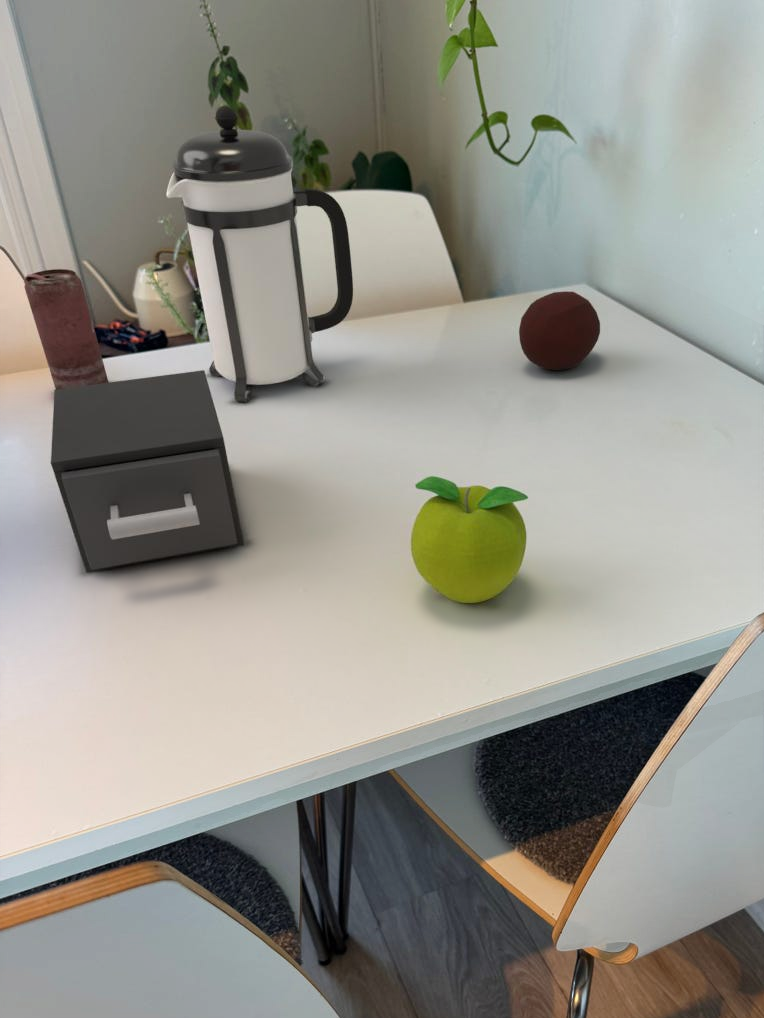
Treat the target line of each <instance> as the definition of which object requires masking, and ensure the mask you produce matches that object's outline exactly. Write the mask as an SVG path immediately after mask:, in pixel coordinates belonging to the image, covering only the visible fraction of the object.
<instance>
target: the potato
mask: <svg viewBox="0 0 764 1018" xmlns="http://www.w3.org/2000/svg"><path fill="white" fill-rule="evenodd" d="M518 334H519V335H518V337H519V344H520V348H521V350H522V352H523V354H524V356H525V357H526V358H527V359H528V361H529V362H530V363H532V364H534V365H536V366H538V367H539V368H542V369H545V370H550V371H562V370H568V369H570V368H574V367H575V366H577V365H579V364H580V363H581V362H582V361H584V359H586V358H587V357H588V356H589V355H590V353H592V350H593V349H594V348H595V346H596V345H597V343H598V341H599V337H600V334H601V322H600V318H599V316H598V312H597V310H596V309H595V308H594V306H593V305H592V303H591V302H590V301H589V299H587V298H585V297H584V296H582V295H580V294H579V293H577V292H575V291H566V290H565V291H553V292H552V293H548V294H546V295H544V296H542V297H540V298H537V299H536V300H534V301H532V302H531V303H530V304H529V306H528V307H527V309H526V310H525V312H524V313H523V315H522V317H521V318H520V324H519V328H518Z"/></svg>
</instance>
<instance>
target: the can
mask: <svg viewBox="0 0 764 1018" xmlns="http://www.w3.org/2000/svg"><path fill="white" fill-rule="evenodd" d="M23 284H24V291H25V294H26V297H27V301H28V303H29V307H30V310H31V313H32V316H33V320H34V323H35V327H36V329H37V333H38V337H39V340H40V343H41V346H42V349H43V352H44V356H45V359H46V363H47V365H48V369H49V372H50V376H51V379H52V382H53V385H54V390H55V389H63V388H71V387H78V386H86V385H94V384H101V383H109V382H110V381H109V379H108V374H107V371H106V368H105V363H104V360H103V357H102V353H101V349H100V345H99V341H98V338H97V334H96V331H95V327H94V323H93V319H92V316H91V311H90V308H89V304H88V300H87V296H86V293H85V289H84V286H83V285H84V284H83V282H82V279H81V278H80V277H79V276H78V274H77V272H76V271H74V270H73V269H72V270H71V269H65V268H64V269H63V268H57V269H47V270H46V269H45V270H41V271H37V272H34V273H31V274H29V273H28V274H27V275H25V277H24V279H23Z"/></svg>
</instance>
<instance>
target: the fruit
mask: <svg viewBox="0 0 764 1018" xmlns="http://www.w3.org/2000/svg"><path fill="white" fill-rule="evenodd" d="M414 486H415V488H416V489H418V490H423V491H428V492H431V493H433V494H435V496H433V497H430V498H429V499H427V501H425V503H424V504H423V505H422V506H421V508H420V509H419V511H418V513H417V515H416V517H415V519H414V523H413V526H412V531H411V537H410V553H411V556H412V560H413V563H414V565H415V567H416V570H417V572H418V573H419V574H420V576H421V577H422V578H423V580H425V581H426V583H427V584H429V585H430V586H431V587H432V588H433V589H434V590H435V591H438V592H439V593H440V594H441V595H443V596H444V597H446V598H448V599H449V600H451V601H453V602H457V603H462V604H475V603H481V602H485V601H487V600H491V599H492V598H494V597H496V596H498V595H499V594H500V593H502V592H503V591H504V590H505V589H506V588H508V586H510V584H511V583H512V582H513V581H514V579H516V576H517V575H518V573H519V571H520V568H521V566H522V565H523V564H522V563H523V561H524V557H525V553H526V547H527V528H526V523H525V521H524V518H523V516H522V514H521V512H520V510H519V509H518V508H517V506H516V505H515V504H514V503H515V502H520V501H524V500H525V501H526V500H527V499H528V498H529V496H528V495H526V493H523V492H522V491H519V490H516V489H515V488H512V487H508V486H503V485H501V486H500V485H499V486H495V487H493V488H491V489H490V488H488V487H485V486H483V485H470V486H457V484H456V483H454V482H453V481H451V480H449V479H447V478H442V477H438V476H433V475H431V476H427V477H425V478H423V479H421V480H420V481H418V482H417V483H416V484H414Z"/></svg>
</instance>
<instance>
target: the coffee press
mask: <svg viewBox="0 0 764 1018" xmlns="http://www.w3.org/2000/svg"><path fill="white" fill-rule="evenodd" d="M214 120H215V121H216V123H217V125H218V126H219V127H220V128H222V129H220V130H213V131H206V132H202V133H198V134H195V135H192V136H190V137H188V138H186V139H185V140H184V141H183V142H181V144H180V145H178V148H177V150H176V154H175V160H174V161H173V162H172V169H173V170H172V171H173V173H172V175H171V177H170V179H169V181H168V185H167V188H166V198H167V199H172V198H173V199H174V198H181V201H180V204H181V208H182V214H183V219H184V221H185V222H186V223H187V229H188V234H189V240H190V246H191V250H192V255H193V260H194V267H195V271H196V276H197V282H198V287H199V292H200V293H199V294H200V297H201V302H202V309H203V313H204V317H205V324H206V327H207V328H206V329H207V334H208V339H209V344H210V349H211V350H210V351H211V354H212V362H211V364H210V365H209V369H208V372H209V373H210V375H211V376H212V377H214V378H219V377H221V376H222V377H223V378H224V379H226V380H228V381H231V382H233V383H235V384H234V385H235V386H234V394H233V397H234V400H235V402H240V403H249V402H250V400H251V397H252V392H253V389H254V388H255V387H256V386H259V385H260V386H261V385H272V384H278V383H282V382H286V381H290V380H292V379H294V378H298V377H299V378H302V379H303V380H304V381H305V382H306V383H307V384H308V385H309V386H311V387H319V386H320V385H321V384H322V383H323V382H324V374H323V373H322V372H321V370H320V369H319V368H318V366H317V365H316V363H315V361H314V358H313V349H312V348H313V347H312V342H313V334H315V333H317V332H322V331H325V330H328V329H331V328H333V327H336V326H337V325H339V324H341V322H343V321H344V320H345V319H346V317H347V316H348V314H349V313H350V310H351V308H352V304H353V300H354V281H353V280H354V279H353V268H352V255H351V246H350V237H349V228H348V223H347V219H346V216H345V213H344V211H343V209H342V207H341V205H340V203H339V202H338V201H337V200H336V199H335V197H333V196H332V195H330V194H329V193H327V192H325V191H323V190H320V189H316V188H303V190H297V191H294V190H293V189H294V188H293V180H292V172H293V168H294V159H293V156H292V155H290V154H289V153H288V151H287V149H286V147H285V145H284V144H283V142H282V141H281V140H279V139H278V138H277V137H276V136H274V135H272V134H269V133H267V132H264V131H260V130H253V129H251V130H250V129H235V127H236V125H237V123H238V115H237V113H236V111H235V110H234V109H233V108H232V107H230V106H228V105H222V106H220V107H218V109H217V110H216V112H215V117H214ZM305 206H307V207H317V208H321V209H322V210H323V211H324V213H325V214H326V216H327V218H328V220H329V223H330V228H331V236H332V246H333V256H334V263H335V264H334V266H335V275H336V286H337V295H336V296H337V297H336V299H335V300H336V301H335V303H334V305H333V306H332V308H331V309H330V310H329V311H327V312H325V313H323V314H319V315H315V316H311V317H310V316H309V313H308V305H307V304H308V303H307V297H306V295H307V294H306V287H305V279H304V272H303V263H302V255H301V247H300V239H299V230H298V222H297V214H298V207H305ZM308 369H309V370H310V371H311V373H312V374H313V375H314V376H315V378H316V379H317V380H318V381H317V380H316V379H315V378H313V376H311V375H310V374H309V373H308V372H306V371H307V370H308Z"/></svg>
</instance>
